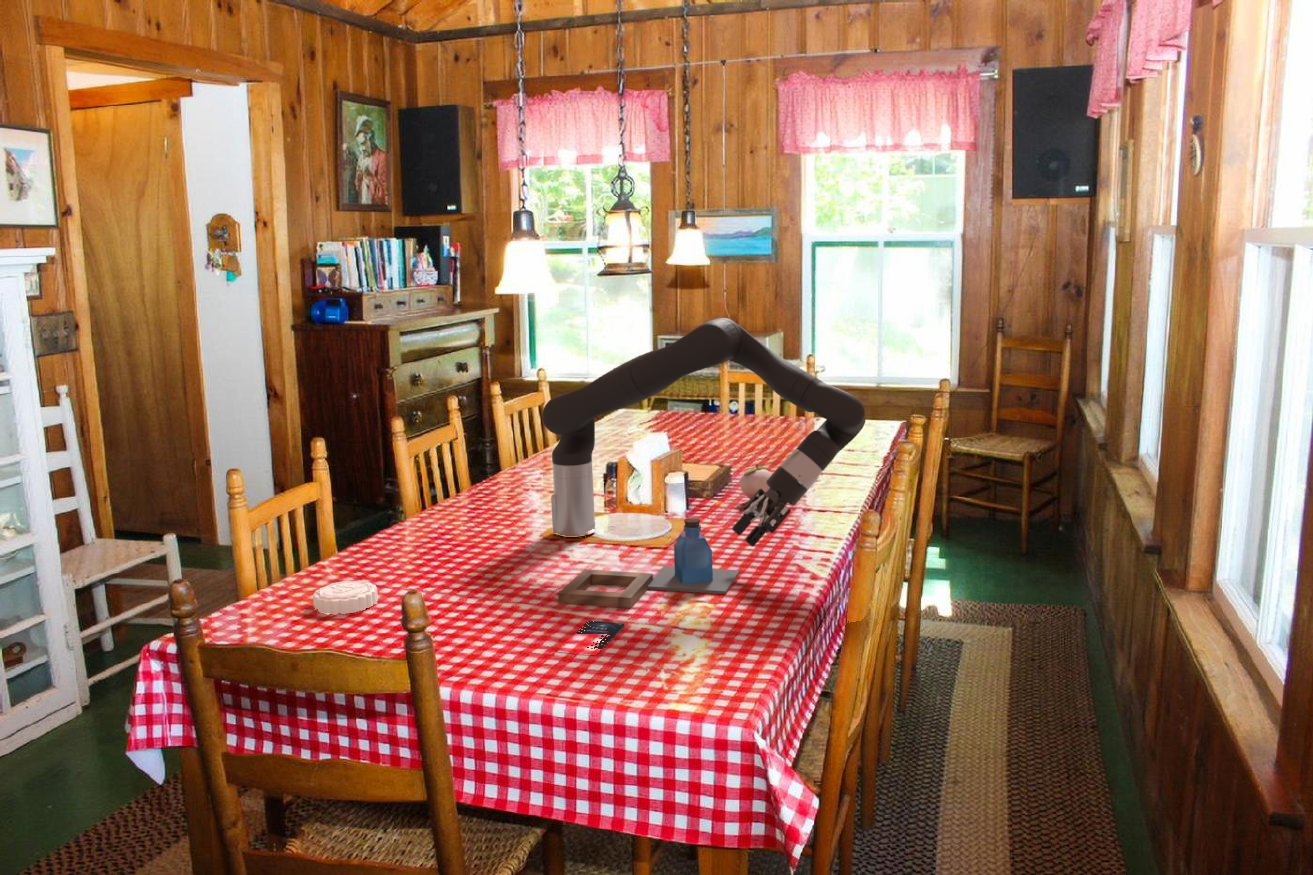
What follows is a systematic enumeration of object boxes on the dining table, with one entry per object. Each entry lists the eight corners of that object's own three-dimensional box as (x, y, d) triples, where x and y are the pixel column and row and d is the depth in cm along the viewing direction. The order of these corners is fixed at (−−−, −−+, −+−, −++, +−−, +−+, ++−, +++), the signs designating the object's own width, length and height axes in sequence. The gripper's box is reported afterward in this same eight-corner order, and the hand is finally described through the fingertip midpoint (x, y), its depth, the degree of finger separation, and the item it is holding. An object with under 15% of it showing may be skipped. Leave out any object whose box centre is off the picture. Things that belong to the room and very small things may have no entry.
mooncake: (354, 591, 216) (353, 574, 215) (390, 603, 208) (389, 585, 207) (301, 608, 207) (300, 591, 206) (337, 621, 199) (335, 603, 198)
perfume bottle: (682, 584, 211) (680, 525, 208) (674, 574, 217) (673, 517, 214) (712, 580, 212) (711, 522, 210) (704, 571, 218) (702, 514, 216)
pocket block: (558, 602, 204) (557, 593, 204) (584, 578, 218) (584, 569, 217) (631, 608, 200) (630, 597, 200) (653, 583, 214) (652, 573, 213)
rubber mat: (646, 589, 210) (646, 586, 210) (664, 568, 222) (664, 566, 222) (725, 594, 206) (725, 591, 206) (739, 573, 218) (739, 570, 218)
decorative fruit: (762, 508, 268) (762, 469, 266) (735, 504, 273) (734, 466, 271) (781, 500, 275) (781, 462, 273) (754, 496, 280) (754, 459, 278)
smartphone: (553, 651, 180) (587, 619, 194) (553, 654, 180) (587, 622, 194) (595, 655, 178) (627, 623, 191) (596, 659, 178) (627, 626, 192)
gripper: (769, 458, 221) (718, 517, 220) (794, 472, 207) (739, 535, 207) (794, 481, 223) (743, 540, 223) (820, 496, 209) (766, 559, 209)
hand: (741, 537), depth 215 cm, fingers open, 8 cm apart
